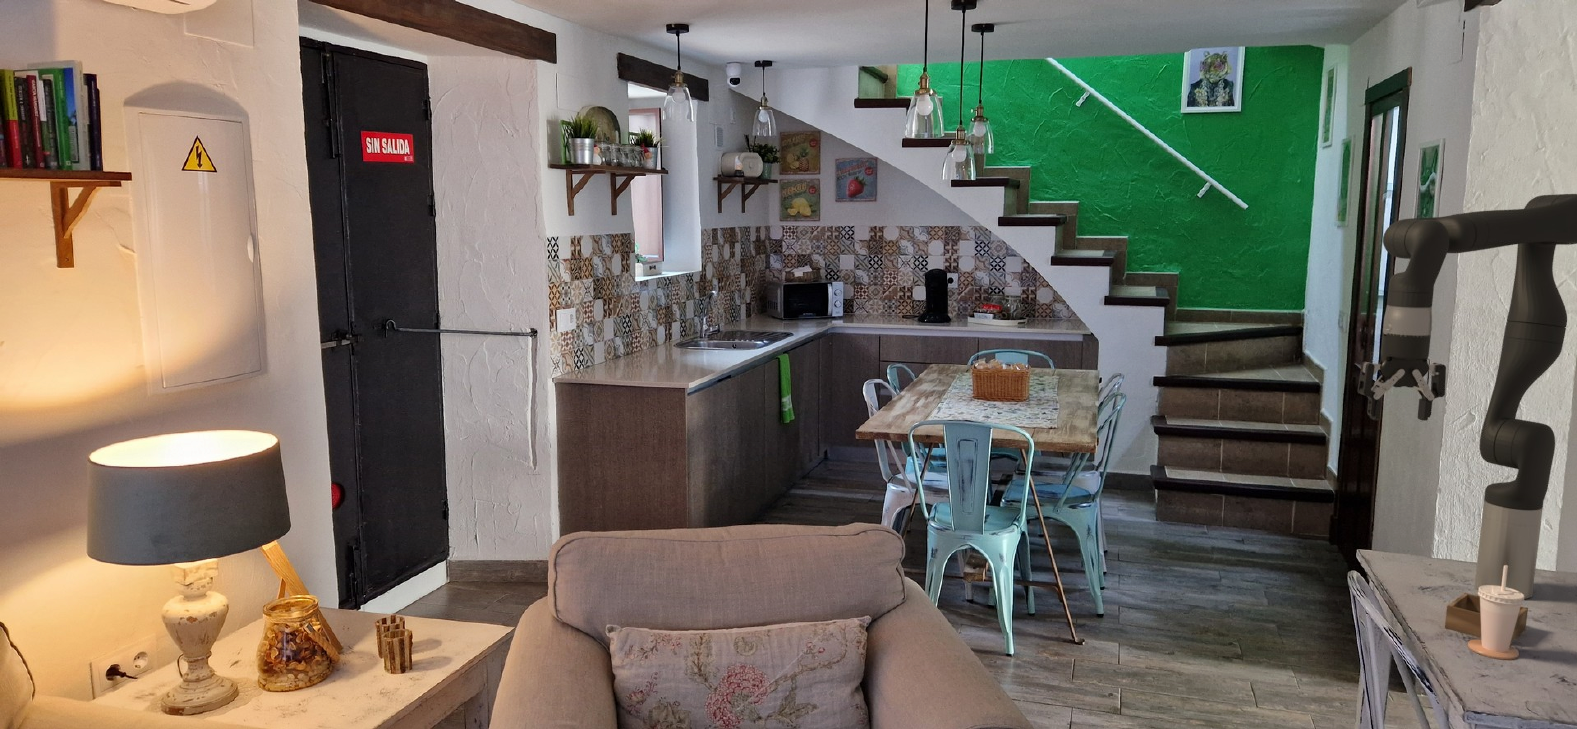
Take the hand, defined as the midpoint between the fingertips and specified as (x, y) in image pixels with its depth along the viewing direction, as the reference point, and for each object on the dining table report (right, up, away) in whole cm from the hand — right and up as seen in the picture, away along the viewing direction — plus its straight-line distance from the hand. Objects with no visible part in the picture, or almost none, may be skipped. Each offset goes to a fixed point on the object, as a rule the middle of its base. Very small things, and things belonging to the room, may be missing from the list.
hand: (1398, 419), depth 193 cm
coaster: (+5, -37, -18) cm, 42 cm away
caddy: (+10, -36, -9) cm, 38 cm away
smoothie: (+6, -37, -18) cm, 42 cm away
